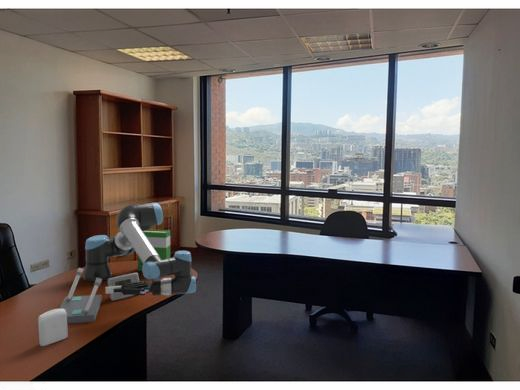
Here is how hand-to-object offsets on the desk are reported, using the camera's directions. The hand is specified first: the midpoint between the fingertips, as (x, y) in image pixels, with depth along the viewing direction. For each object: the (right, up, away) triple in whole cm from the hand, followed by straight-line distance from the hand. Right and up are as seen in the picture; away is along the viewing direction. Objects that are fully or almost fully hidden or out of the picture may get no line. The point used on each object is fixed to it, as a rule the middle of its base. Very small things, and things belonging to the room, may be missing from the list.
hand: (105, 290), depth 181 cm
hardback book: (+3, -4, +70) cm, 70 cm away
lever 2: (-8, -9, -1) cm, 12 cm away
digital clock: (0, -9, +26) cm, 27 cm away
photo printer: (-12, -15, -21) cm, 29 cm away
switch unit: (-14, -11, +6) cm, 19 cm away
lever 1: (-22, -7, +12) cm, 26 cm away
